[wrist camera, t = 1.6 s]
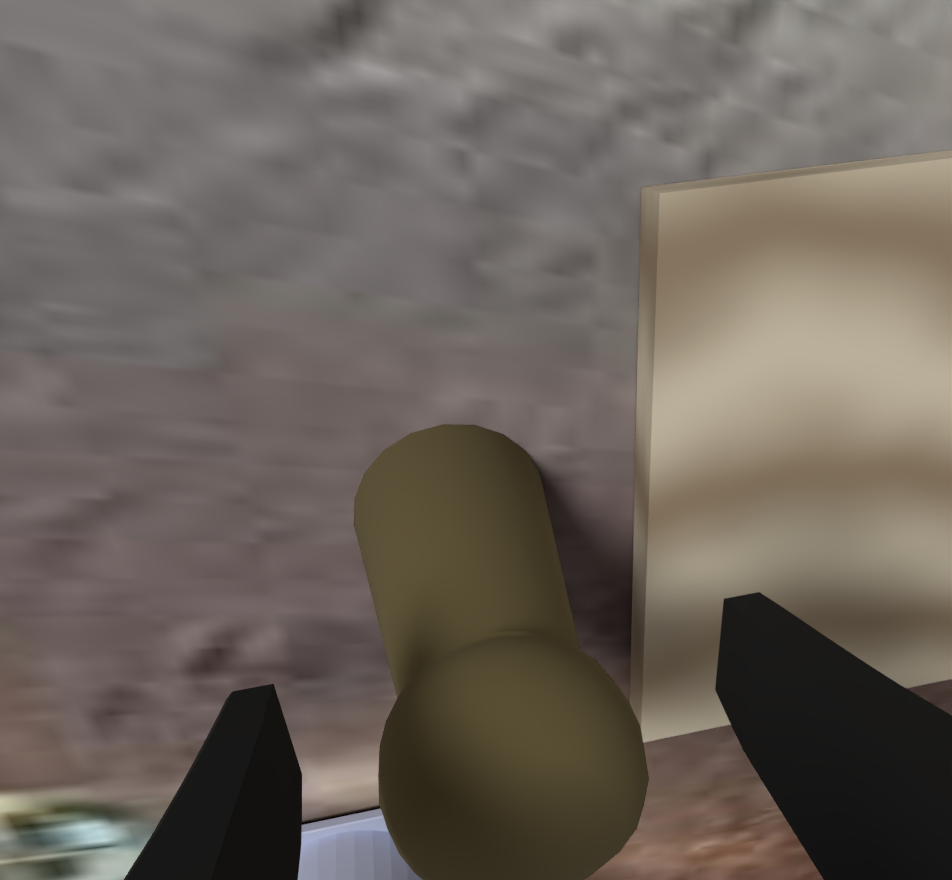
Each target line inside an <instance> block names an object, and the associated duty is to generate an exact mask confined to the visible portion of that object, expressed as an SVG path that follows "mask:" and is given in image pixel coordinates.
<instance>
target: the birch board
mask: <svg viewBox="0 0 952 880" xmlns="http://www.w3.org/2000/svg"><path fill="white" fill-rule="evenodd" d="M757 592H760V593H762V594H763V595H765V596H766V597H768V598H769V599H771V600H772V601H774V602H775V603H777V604H779V605H780V606H782V607H783V608H784V609H786V610H787V611H789V612H790V613H792V614H793V615H795V616H796V617H798V618H799V619H801V620H802V621H804V622H805V623H807V624H808V625H810V626H811V627H813V628H814V629H816V630H817V631H818V632H820V633H821V634H823V635H824V636H826V637H827V638H829V639H830V640H832V641H833V642H835V643H836V644H838V645H839V646H841V647H842V648H844V649H845V650H847V651H848V652H850V653H851V654H853V655H854V656H856V657H857V658H859V659H861V660H862V661H864V662H865V663H867V664H868V665H870V666H871V667H873V668H874V669H876V670H878V671H879V672H881V673H882V674H884V675H885V676H887V677H889V678H890V679H892V680H893V681H895V682H896V683H898V684H900V685H901V686H903V687H905V688H910V687H915V686H920V685H925V684H930V683H935V682H939V681H944V680H949V679H952V150H949V151H941V152H932V153H924V154H916V155H907V156H899V157H891V158H882V159H874V160H865V161H857V162H849V163H840V164H832V165H824V166H815V167H807V168H798V169H790V170H782V171H773V172H765V173H757V174H748V175H740V176H731V177H723V178H715V179H706V180H698V181H690V182H681V183H673V184H664V185H656V186H648V187H642V188H641V232H640V276H639V320H638V364H637V408H636V452H635V496H634V540H633V584H632V628H631V672H630V705H631V707H632V709H633V711H634V713H635V716H636V718H637V720H638V722H639V724H640V727H641V733H642V739H643V742H648V741H653V740H658V739H663V738H668V737H672V736H677V735H682V734H687V733H692V732H697V731H701V730H706V729H711V728H716V727H721V726H726V725H731V724H730V721H729V719H728V717H727V715H726V713H725V710H724V708H723V706H722V704H721V702H720V699H719V697H718V695H717V693H716V691H715V685H716V675H717V664H718V654H719V644H720V633H721V623H722V612H723V602H724V599H725V598H730V597H736V596H741V595H746V594H752V593H757Z"/></svg>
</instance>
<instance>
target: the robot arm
mask: <svg viewBox="0 0 952 880" xmlns="http://www.w3.org/2000/svg"><path fill="white" fill-rule="evenodd" d="M715 691H716V693H717V695H718V697H719V699H720V702H721V704H722V706H723V708H724V710H725V713H726V715H727V717H728V719H729V721H730V724H731V726H732V728H733V730H734V732H735V734H736V736H737V738H738V740H739V742H740V744H741V746H742V748H743V750H744V752H745V753H746V755H747V757H748V758H749V760H750V762H751V763H752V765H753V767H754V768H755V770H756V772H757V773H758V775H759V776H760V778H761V780H762V781H763V783H764V785H765V786H766V788H767V789H768V791H769V793H770V794H771V796H772V797H773V799H774V801H775V802H776V804H777V805H778V807H779V809H780V810H781V812H782V813H783V815H784V817H785V818H786V820H787V821H788V823H789V825H790V826H791V828H792V829H793V831H794V833H795V834H796V836H797V837H798V839H799V841H800V842H801V844H802V845H803V847H804V849H805V850H806V852H807V853H808V855H809V857H810V858H811V860H812V861H813V863H814V865H815V866H816V868H817V869H818V871H819V873H820V874H821V876H822V877H823V879H824V880H952V716H951V715H950V714H948V713H946V712H945V711H943V710H941V709H939V708H938V707H936V706H934V705H933V704H931V703H929V702H927V701H926V700H924V699H922V698H921V697H919V696H918V695H916V694H914V693H913V692H911V691H909V690H908V689H906V688H905V687H903V686H901V685H900V684H898V683H896V682H895V681H893V680H892V679H890V678H889V677H887V676H885V675H884V674H882V673H881V672H879V671H878V670H876V669H874V668H873V667H871V666H870V665H868V664H867V663H865V662H864V661H862V660H861V659H859V658H857V657H856V656H854V655H853V654H851V653H850V652H848V651H847V650H845V649H844V648H842V647H841V646H839V645H838V644H836V643H835V642H833V641H832V640H830V639H829V638H827V637H826V636H824V635H823V634H821V633H820V632H818V631H817V630H816V629H814V628H813V627H811V626H810V625H808V624H807V623H805V622H804V621H802V620H801V619H799V618H798V617H796V616H795V615H793V614H792V613H790V612H789V611H787V610H786V609H784V608H783V607H782V606H780V605H779V604H777V603H775V602H774V601H772V600H771V599H769V598H768V597H766V596H765V595H763V594H762V593H760V592H757V593H752V594H746V595H741V596H736V597H730V598H725V599H724V602H723V612H722V623H721V633H720V644H719V654H718V664H717V675H716V685H715ZM124 880H422V879H421V878H420V877H419V876H417V875H416V874H415V873H414V872H413V870H412V869H411V868H410V867H409V865H408V864H407V863H406V862H405V860H404V859H403V858H402V857H401V856H400V854H399V853H398V851H397V848H396V846H395V844H394V842H393V840H392V838H391V836H390V834H389V831H388V829H387V826H386V823H385V820H384V817H383V814H382V811H381V808H380V809H376V810H371V811H366V812H361V813H356V814H351V815H347V816H342V817H337V818H332V819H327V820H323V821H318V822H313V823H308V824H303V825H302V773H301V770H300V767H299V763H298V760H297V757H296V754H295V751H294V748H293V744H292V741H291V738H290V735H289V732H288V729H287V725H286V722H285V719H284V716H283V713H282V709H281V706H280V703H279V700H278V697H277V694H276V690H275V687H274V684H270V685H265V686H260V687H254V688H249V689H244V690H239V691H233V692H232V693H231V694H230V695H229V697H228V698H227V699H226V701H225V703H224V705H223V707H222V709H221V711H220V713H219V715H218V717H217V719H216V721H215V723H214V725H213V727H212V729H211V731H210V733H209V734H208V736H207V738H206V740H205V742H204V744H203V746H202V748H201V750H200V751H199V753H198V755H197V757H196V759H195V761H194V762H193V764H192V766H191V768H190V770H189V772H188V773H187V775H186V777H185V779H184V781H183V782H182V784H181V786H180V788H179V789H178V791H177V793H176V795H175V796H174V798H173V800H172V801H171V803H170V805H169V807H168V808H167V810H166V812H165V814H164V815H163V817H162V819H161V820H160V822H159V824H158V826H157V827H156V829H155V831H154V832H153V834H152V836H151V837H150V839H149V841H148V842H147V844H146V846H145V847H144V849H143V850H142V852H141V853H140V855H139V857H138V858H137V860H136V861H135V863H134V864H133V866H132V868H131V869H130V871H129V872H128V874H127V875H126V877H125V878H124Z"/></svg>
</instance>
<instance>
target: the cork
mask: <svg viewBox="0 0 952 880" xmlns="http://www.w3.org/2000/svg"><path fill="white" fill-rule="evenodd" d="M354 526H355V530H356V534H357V538H358V542H359V546H360V550H361V554H362V558H363V562H364V566H365V570H366V574H367V578H368V582H369V586H370V590H371V594H372V598H373V602H374V606H375V610H376V614H377V618H378V622H379V626H380V630H381V634H382V638H383V642H384V646H385V650H386V654H387V658H388V662H389V666H390V670H391V674H392V678H393V682H394V686H395V690H396V694H397V700H396V702H395V704H394V706H393V708H392V710H391V712H390V714H389V716H388V718H387V720H386V724H385V728H384V731H383V735H382V739H381V743H380V751H379V774H378V778H379V804H380V808H381V811H382V814H383V817H384V820H385V823H386V826H387V829H388V831H389V834H390V836H391V838H392V840H393V842H394V844H395V846H396V848H397V851H398V853H399V854H400V856H401V857H402V858H403V859H404V860H405V862H406V863H407V864H408V865H409V867H410V868H411V869H412V870H413V872H414V873H415V874H416V875H417V876H419V877H420V878H421V879H422V880H584V879H586V878H588V877H589V876H590V875H592V874H593V873H594V872H595V871H597V870H598V869H599V868H600V867H602V866H603V865H604V864H605V863H607V862H608V861H609V860H610V859H611V858H613V857H614V856H615V855H616V854H617V853H619V852H620V850H621V849H622V848H623V846H624V845H625V844H626V842H627V841H628V840H629V838H630V837H631V835H632V834H633V833H634V831H635V830H636V829H637V826H638V822H639V819H640V816H641V812H642V809H643V806H644V801H645V796H646V791H647V785H648V780H649V777H648V770H647V764H646V758H645V751H644V745H643V739H642V733H641V727H640V724H639V722H638V720H637V718H636V716H635V713H634V711H633V709H632V707H631V705H630V703H629V701H628V700H627V698H626V697H625V696H624V694H623V693H622V691H621V690H620V689H619V687H618V686H617V685H616V683H615V682H614V680H613V679H612V678H611V677H610V675H609V674H608V673H607V672H606V671H605V670H604V669H603V667H602V666H601V665H600V664H599V663H598V662H597V661H596V660H595V659H594V658H592V657H590V656H589V655H587V654H585V653H584V652H582V651H580V647H579V642H578V638H577V634H576V629H575V625H574V621H573V616H572V612H571V607H570V603H569V599H568V594H567V590H566V586H565V581H564V577H563V572H562V568H561V564H560V559H559V555H558V551H557V546H556V542H555V537H554V533H553V529H552V524H551V520H550V516H549V511H548V507H547V502H546V498H545V494H544V489H543V485H542V481H541V476H540V472H539V471H538V469H537V468H536V466H535V465H534V463H533V462H532V460H531V459H530V457H529V456H528V454H527V453H526V451H525V450H524V449H522V448H521V447H519V446H518V445H517V444H515V443H514V442H513V441H511V440H510V439H509V438H507V437H506V436H505V435H503V434H500V433H497V432H494V431H491V430H488V429H485V428H482V427H479V426H476V425H440V426H436V427H432V428H429V429H425V430H421V431H418V432H414V433H411V434H410V435H408V436H406V437H405V438H403V439H401V440H400V441H398V442H397V443H395V444H393V445H392V446H390V447H389V448H387V449H385V450H384V451H383V452H382V454H381V455H380V456H379V457H378V458H377V459H376V460H375V462H374V463H373V464H372V465H371V466H370V467H369V469H368V470H367V471H366V472H365V474H364V476H363V479H362V481H361V484H360V486H359V489H358V491H357V494H356V496H355V504H354Z"/></svg>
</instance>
